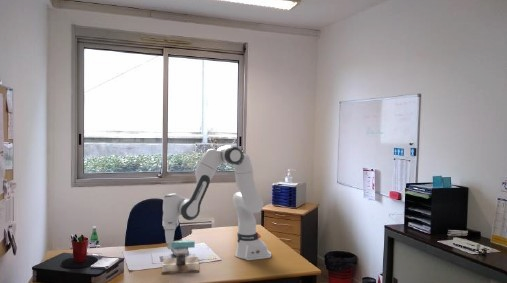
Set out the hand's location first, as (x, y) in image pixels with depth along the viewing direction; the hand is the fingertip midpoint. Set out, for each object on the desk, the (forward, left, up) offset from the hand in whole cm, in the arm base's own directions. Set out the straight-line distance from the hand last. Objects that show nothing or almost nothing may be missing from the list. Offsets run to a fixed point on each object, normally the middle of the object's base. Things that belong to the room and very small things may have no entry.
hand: (170, 246), depth 208 cm
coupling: (-6, 0, -4) cm, 7 cm away
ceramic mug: (-5, -20, -12) cm, 24 cm away
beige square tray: (-6, 0, -12) cm, 13 cm away
